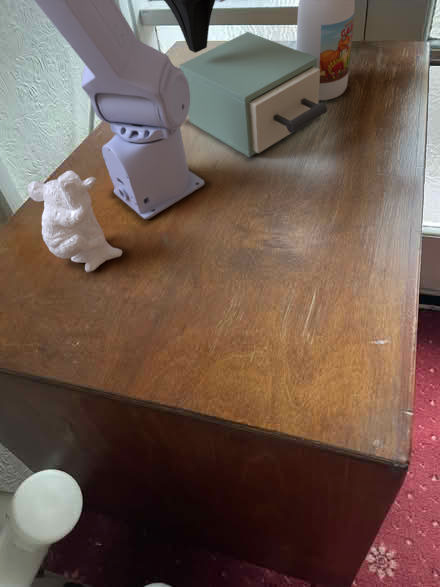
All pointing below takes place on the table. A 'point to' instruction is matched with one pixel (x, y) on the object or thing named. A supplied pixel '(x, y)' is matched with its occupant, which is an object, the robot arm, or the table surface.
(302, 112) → the drawer
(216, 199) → the table surface
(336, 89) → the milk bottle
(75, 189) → the koala figurine
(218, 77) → the mint green cabinet
